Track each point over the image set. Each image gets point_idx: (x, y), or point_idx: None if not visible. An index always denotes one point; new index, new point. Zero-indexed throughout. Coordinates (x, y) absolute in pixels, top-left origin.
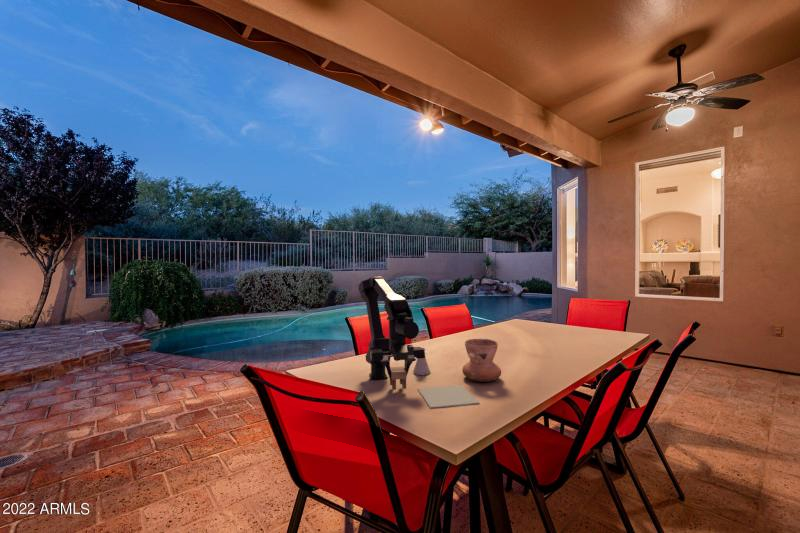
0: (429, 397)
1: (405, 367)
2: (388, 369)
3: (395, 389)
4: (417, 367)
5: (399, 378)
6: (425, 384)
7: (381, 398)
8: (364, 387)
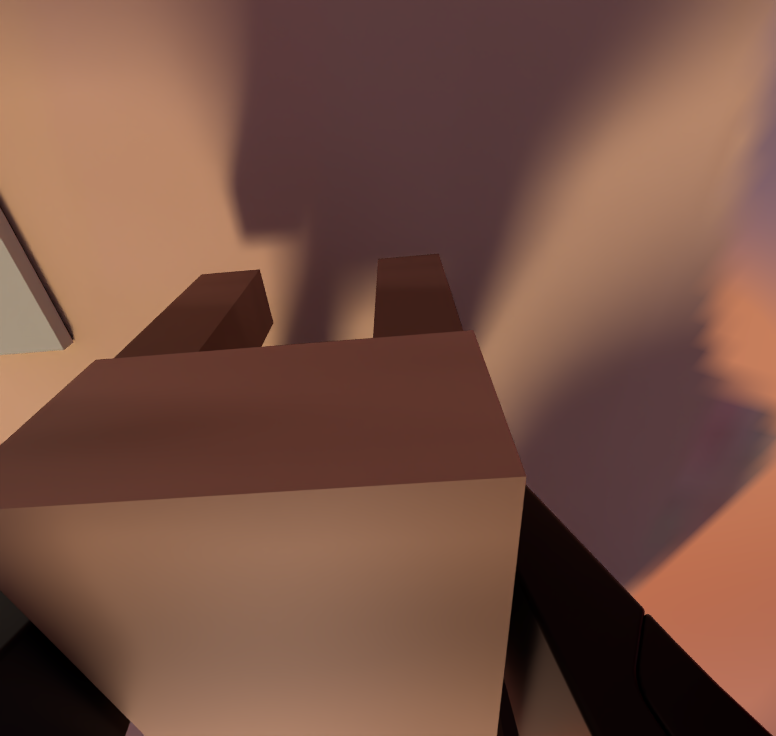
0: None
1: (29, 724)
2: (638, 659)
3: (387, 260)
4: (132, 730)
5: (272, 353)
6: None
7: (652, 60)
8: (718, 477)
